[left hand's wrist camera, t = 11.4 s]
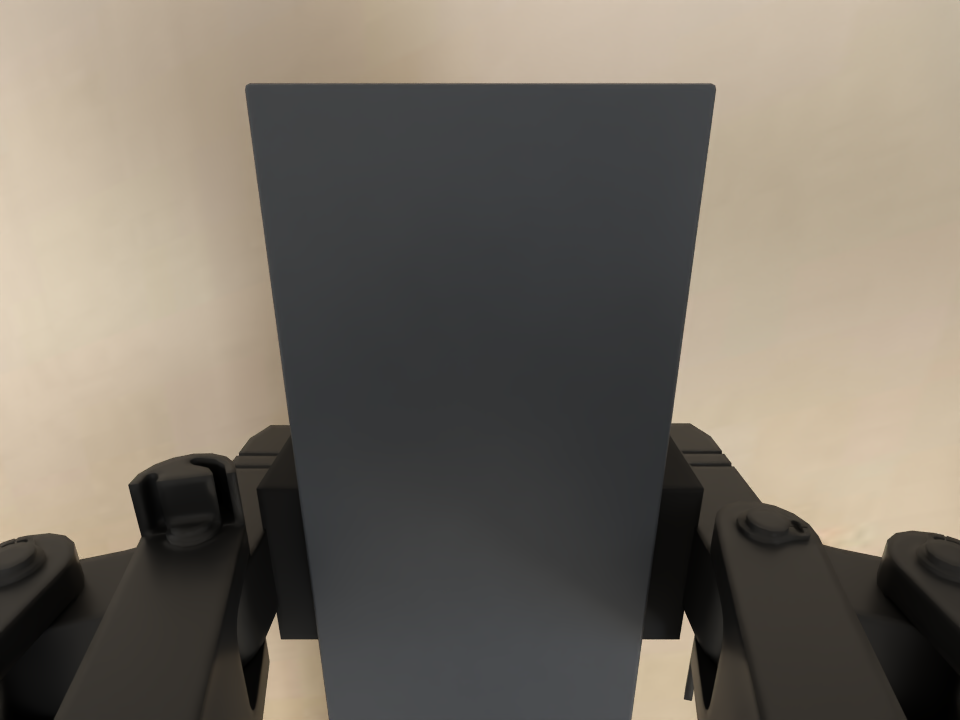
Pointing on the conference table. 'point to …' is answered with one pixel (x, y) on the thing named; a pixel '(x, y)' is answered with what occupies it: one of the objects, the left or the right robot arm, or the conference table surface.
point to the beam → (480, 378)
